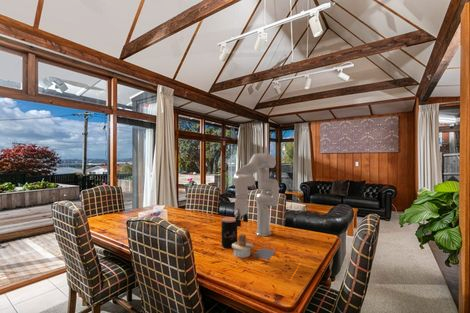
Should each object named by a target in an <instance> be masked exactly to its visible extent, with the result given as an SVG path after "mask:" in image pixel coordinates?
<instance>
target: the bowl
mask: <svg viewBox="0 0 470 313" xmlns="http://www.w3.org/2000/svg"><path fill="white" fill-rule="evenodd" d="M233 256H234V257H236V258H248V257H250V256H251V250H248V251H237V250H234V249H233Z"/></svg>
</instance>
